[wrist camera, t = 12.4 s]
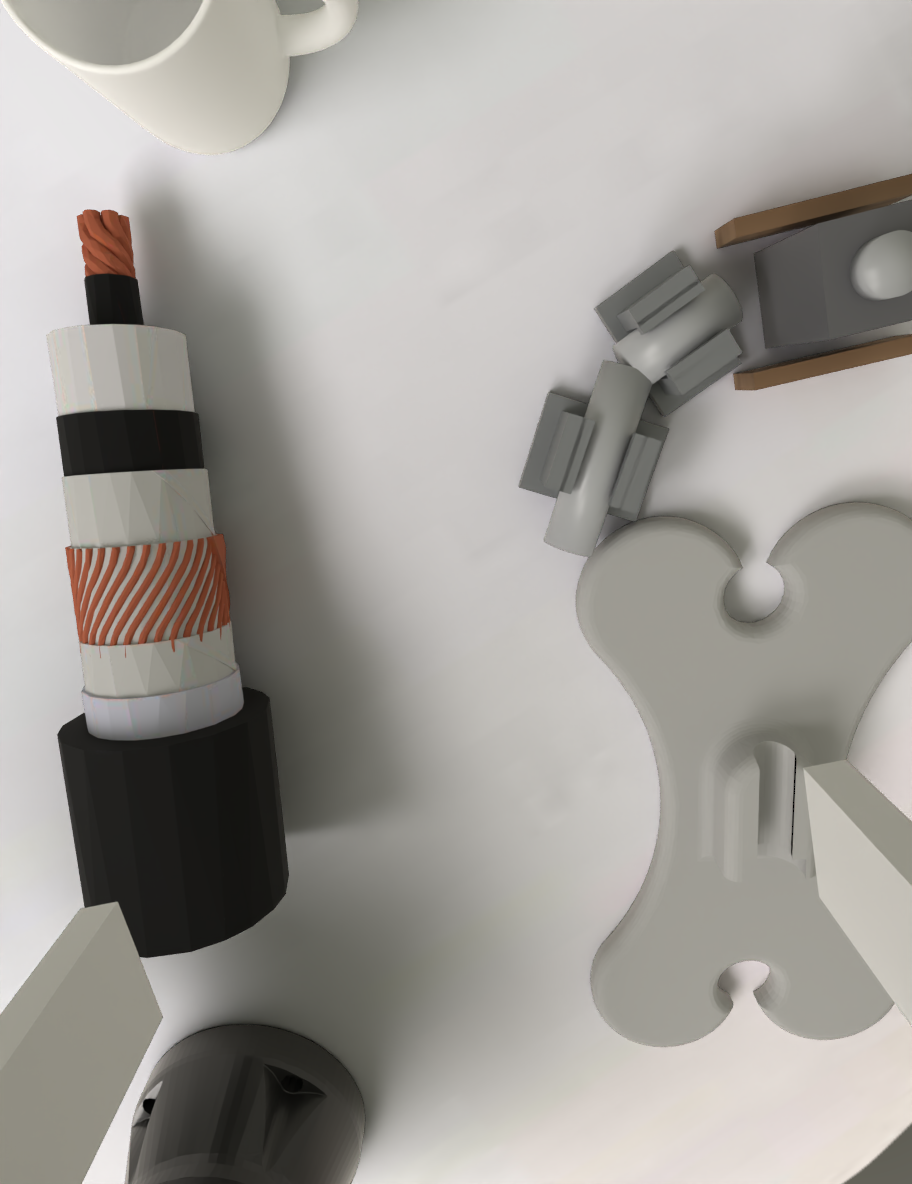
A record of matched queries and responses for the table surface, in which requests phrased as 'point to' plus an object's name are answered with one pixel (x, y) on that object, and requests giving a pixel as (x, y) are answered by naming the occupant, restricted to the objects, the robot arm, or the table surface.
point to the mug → (185, 59)
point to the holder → (742, 762)
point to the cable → (155, 637)
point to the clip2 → (674, 330)
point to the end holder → (803, 217)
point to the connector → (837, 277)
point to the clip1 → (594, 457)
